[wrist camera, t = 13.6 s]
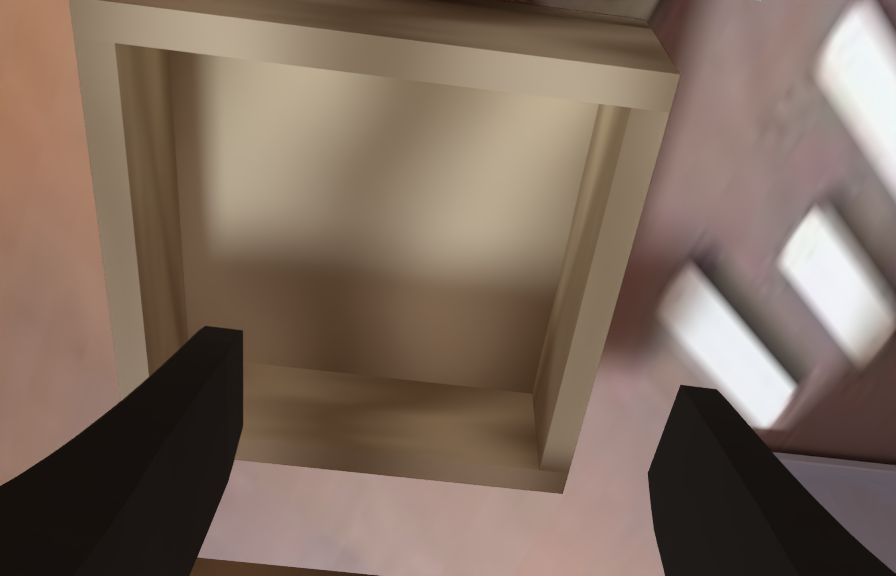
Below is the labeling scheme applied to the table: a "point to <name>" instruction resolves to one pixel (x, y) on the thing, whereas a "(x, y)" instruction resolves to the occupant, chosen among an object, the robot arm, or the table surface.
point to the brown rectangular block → (256, 569)
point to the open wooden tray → (375, 215)
